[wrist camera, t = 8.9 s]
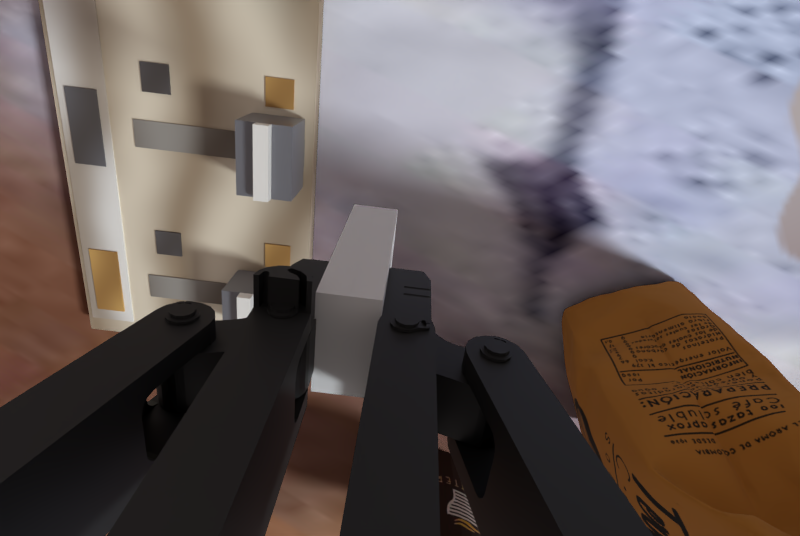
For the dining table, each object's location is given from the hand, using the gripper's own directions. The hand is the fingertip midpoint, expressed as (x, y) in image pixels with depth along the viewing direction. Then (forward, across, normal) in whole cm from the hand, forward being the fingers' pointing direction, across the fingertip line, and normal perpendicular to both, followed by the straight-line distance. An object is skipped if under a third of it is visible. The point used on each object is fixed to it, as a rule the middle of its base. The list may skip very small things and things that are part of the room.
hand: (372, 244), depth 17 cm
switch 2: (+13, +7, 0) cm, 15 cm away
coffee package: (+15, -18, +12) cm, 26 cm away
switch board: (+14, +12, 0) cm, 19 cm away
